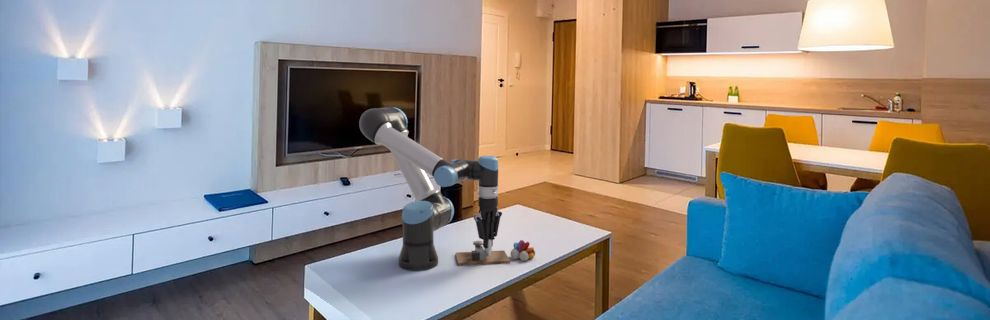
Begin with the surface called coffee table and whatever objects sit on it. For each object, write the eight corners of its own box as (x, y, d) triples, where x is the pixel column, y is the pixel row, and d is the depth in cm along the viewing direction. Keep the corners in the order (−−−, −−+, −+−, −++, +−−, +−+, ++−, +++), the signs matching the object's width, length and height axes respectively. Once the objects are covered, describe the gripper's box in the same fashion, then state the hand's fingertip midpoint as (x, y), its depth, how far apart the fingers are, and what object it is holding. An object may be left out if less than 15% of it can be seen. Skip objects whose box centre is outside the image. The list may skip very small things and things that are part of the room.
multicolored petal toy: (528, 263, 207) (528, 245, 206) (506, 258, 212) (507, 241, 211) (538, 257, 214) (538, 240, 213) (517, 253, 219) (517, 236, 218)
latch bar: (475, 253, 213) (475, 246, 213) (481, 253, 214) (481, 245, 213) (479, 260, 205) (479, 253, 205) (485, 260, 206) (485, 252, 205)
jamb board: (458, 265, 203) (458, 252, 202) (455, 254, 216) (455, 241, 215) (509, 263, 206) (510, 249, 206) (503, 252, 219) (504, 239, 218)
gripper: (481, 200, 197) (481, 261, 201) (507, 195, 206) (506, 254, 210) (469, 197, 203) (469, 256, 206) (494, 192, 211) (493, 249, 215)
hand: (487, 255), depth 208 cm, fingers closed
